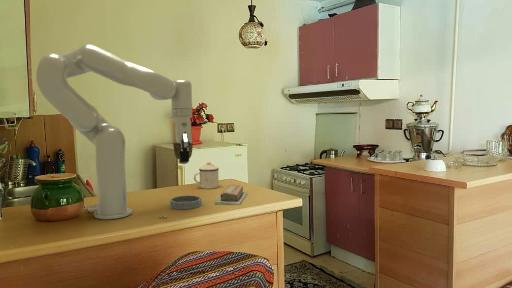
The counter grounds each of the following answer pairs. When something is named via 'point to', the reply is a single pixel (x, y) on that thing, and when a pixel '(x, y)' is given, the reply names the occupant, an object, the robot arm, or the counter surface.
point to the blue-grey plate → (185, 202)
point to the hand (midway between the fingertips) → (183, 160)
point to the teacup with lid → (208, 176)
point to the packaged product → (231, 195)
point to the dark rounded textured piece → (178, 148)
